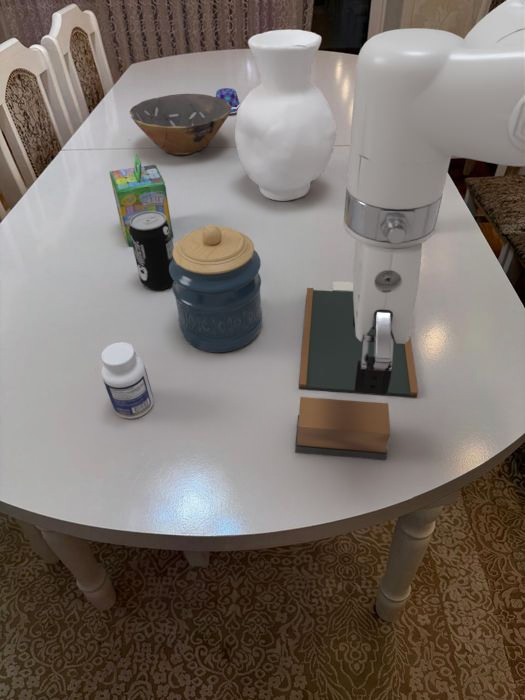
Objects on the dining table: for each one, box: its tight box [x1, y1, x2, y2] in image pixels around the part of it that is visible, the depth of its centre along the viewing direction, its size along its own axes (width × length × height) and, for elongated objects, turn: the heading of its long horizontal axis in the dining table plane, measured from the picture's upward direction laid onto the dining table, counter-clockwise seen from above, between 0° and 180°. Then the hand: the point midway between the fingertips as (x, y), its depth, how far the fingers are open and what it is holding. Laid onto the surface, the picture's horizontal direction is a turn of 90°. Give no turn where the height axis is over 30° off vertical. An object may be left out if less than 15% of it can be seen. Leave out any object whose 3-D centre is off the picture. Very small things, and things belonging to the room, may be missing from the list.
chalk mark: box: [332, 280, 353, 292], centre depth 85 cm, size 4×2×1 cm
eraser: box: [294, 396, 391, 461], centre depth 61 cm, size 11×5×5 cm, turn 83°
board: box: [298, 287, 419, 399], centre depth 75 cm, size 16×22×1 cm
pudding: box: [215, 87, 243, 115], centre depth 149 cm, size 12×12×5 cm
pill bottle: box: [101, 341, 154, 420], centre depth 64 cm, size 5×5×10 cm
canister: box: [169, 224, 263, 353], centre depth 72 cm, size 13×13×18 cm
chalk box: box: [109, 154, 174, 247], centre depth 95 cm, size 9×9×15 cm
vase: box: [234, 28, 338, 202], centre depth 101 cm, size 19×21×30 cm
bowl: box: [129, 93, 232, 156], centre depth 126 cm, size 25×25×10 cm
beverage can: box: [129, 211, 174, 291], centre depth 83 cm, size 7×7×12 cm
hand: (368, 356), depth 53 cm, fingers open, 9 cm apart
